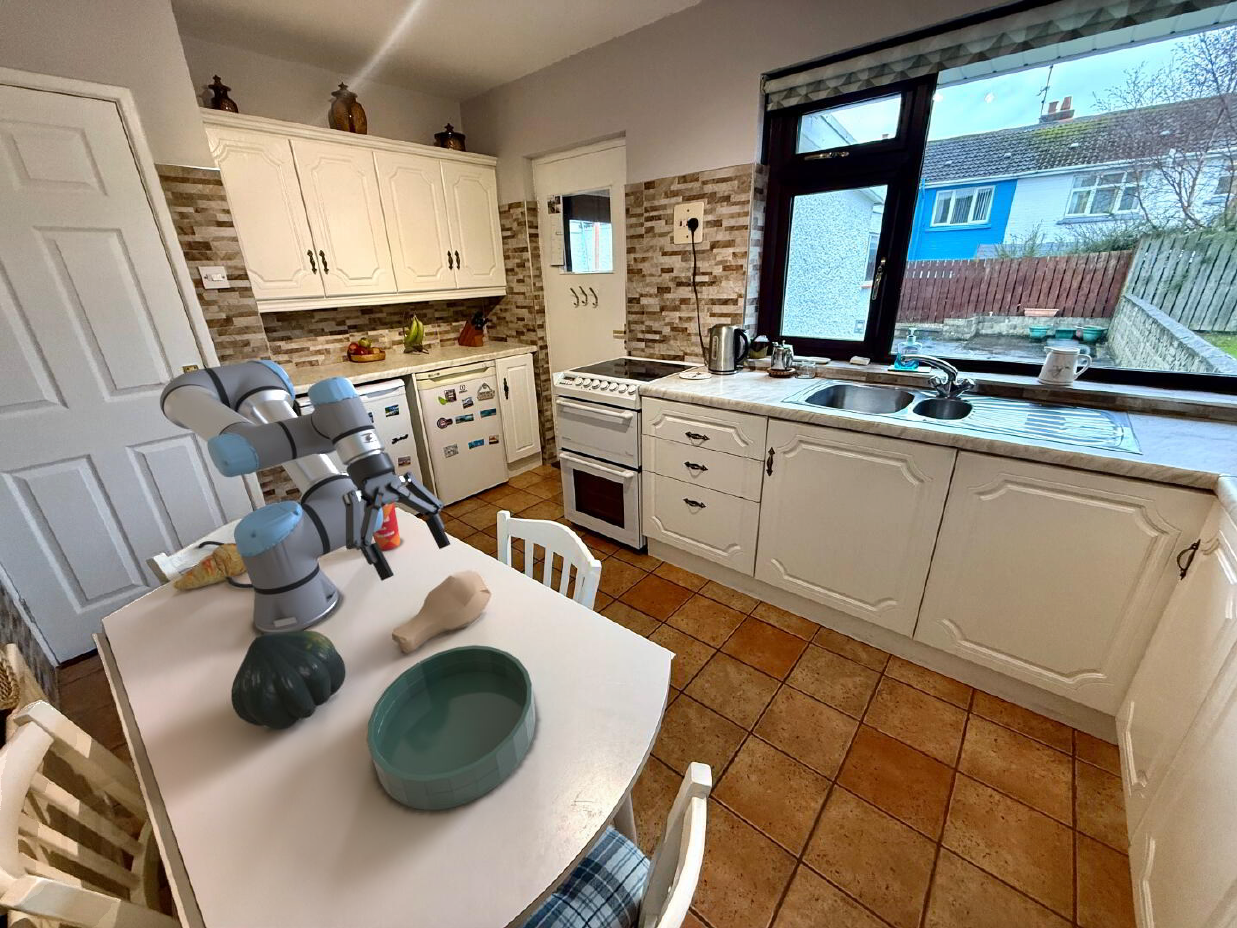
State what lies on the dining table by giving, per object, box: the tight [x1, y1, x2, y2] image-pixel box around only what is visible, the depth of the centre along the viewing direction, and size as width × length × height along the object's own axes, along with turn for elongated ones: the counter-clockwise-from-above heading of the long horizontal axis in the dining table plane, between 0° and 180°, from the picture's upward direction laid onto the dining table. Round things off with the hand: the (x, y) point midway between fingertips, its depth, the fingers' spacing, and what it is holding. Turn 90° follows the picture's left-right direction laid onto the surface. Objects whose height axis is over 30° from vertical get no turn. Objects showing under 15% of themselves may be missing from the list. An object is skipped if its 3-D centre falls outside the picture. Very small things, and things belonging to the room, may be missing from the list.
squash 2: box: [391, 570, 492, 654], centre depth 96 cm, size 11×20×9 cm, turn 140°
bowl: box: [366, 644, 536, 811], centre depth 74 cm, size 24×24×6 cm
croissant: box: [172, 542, 247, 591], centre depth 116 cm, size 21×10×8 cm, turn 148°
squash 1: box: [230, 630, 347, 731], centre depth 79 cm, size 14×15×15 cm
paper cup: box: [373, 502, 401, 551], centre depth 123 cm, size 8×8×14 cm
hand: (418, 561), depth 90 cm, fingers open, 13 cm apart
